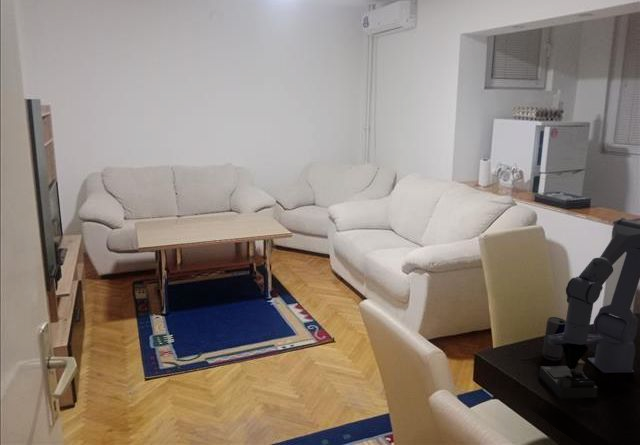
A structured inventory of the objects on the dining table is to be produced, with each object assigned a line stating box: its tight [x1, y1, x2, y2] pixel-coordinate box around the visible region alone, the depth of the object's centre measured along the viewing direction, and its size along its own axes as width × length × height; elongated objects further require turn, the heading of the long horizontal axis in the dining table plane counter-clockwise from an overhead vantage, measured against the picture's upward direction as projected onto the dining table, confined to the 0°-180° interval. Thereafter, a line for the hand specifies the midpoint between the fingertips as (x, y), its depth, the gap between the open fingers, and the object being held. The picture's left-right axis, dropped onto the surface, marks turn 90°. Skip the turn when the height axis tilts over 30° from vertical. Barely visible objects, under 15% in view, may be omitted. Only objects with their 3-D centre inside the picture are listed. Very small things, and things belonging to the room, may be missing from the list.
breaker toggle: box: [570, 358, 586, 375], centre depth 138 cm, size 2×3×4 cm
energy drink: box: [541, 316, 566, 362], centre depth 152 cm, size 5×5×12 cm
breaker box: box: [538, 365, 599, 399], centre depth 137 cm, size 10×11×5 cm
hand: (570, 367), depth 138 cm, fingers closed
